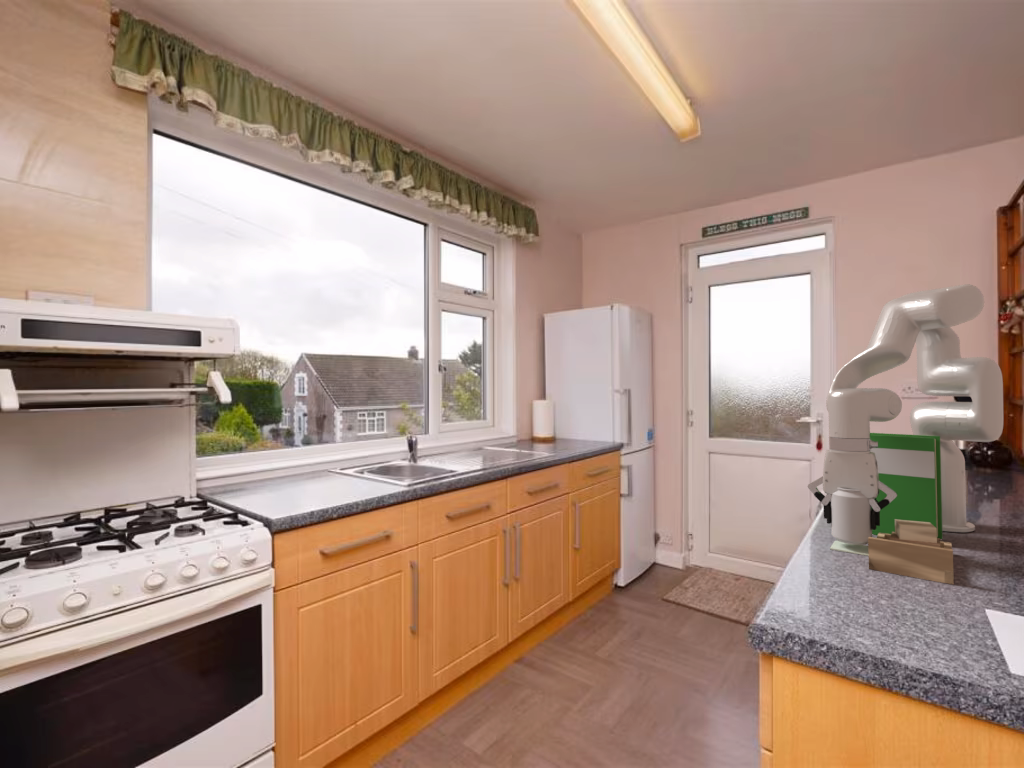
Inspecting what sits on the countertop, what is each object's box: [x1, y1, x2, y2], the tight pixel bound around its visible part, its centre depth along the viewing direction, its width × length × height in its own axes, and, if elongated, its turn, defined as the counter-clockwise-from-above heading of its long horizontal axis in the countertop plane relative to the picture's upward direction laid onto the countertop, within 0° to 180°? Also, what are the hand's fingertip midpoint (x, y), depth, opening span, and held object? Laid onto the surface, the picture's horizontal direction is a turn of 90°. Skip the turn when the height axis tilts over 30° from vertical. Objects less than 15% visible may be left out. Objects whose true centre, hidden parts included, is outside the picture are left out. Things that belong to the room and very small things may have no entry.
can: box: [830, 488, 873, 545], centre depth 109 cm, size 8×8×12 cm
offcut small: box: [895, 519, 937, 543], centre depth 104 cm, size 5×6×3 cm
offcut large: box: [890, 532, 941, 548], centre depth 104 cm, size 6×8×4 cm
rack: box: [867, 533, 955, 586], centre depth 101 cm, size 21×12×6 cm, turn 139°
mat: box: [829, 540, 869, 557], centre depth 109 cm, size 7×7×1 cm
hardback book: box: [870, 432, 944, 540], centre depth 120 cm, size 18×7×24 cm, turn 41°
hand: (851, 524), depth 109 cm, fingers closed on can, 7 cm apart
